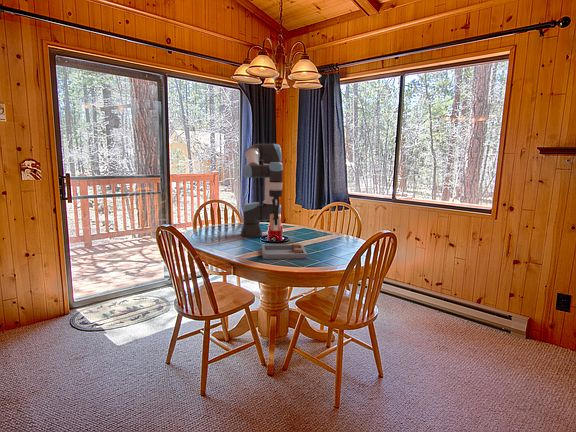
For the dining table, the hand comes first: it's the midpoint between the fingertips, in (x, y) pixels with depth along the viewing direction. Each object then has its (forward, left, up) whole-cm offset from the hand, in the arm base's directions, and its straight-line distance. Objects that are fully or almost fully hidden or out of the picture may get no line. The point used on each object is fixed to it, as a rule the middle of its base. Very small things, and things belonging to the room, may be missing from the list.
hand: (275, 229), depth 211 cm
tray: (0, +5, -15) cm, 16 cm away
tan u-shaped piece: (0, 0, 0) cm, 0 cm away
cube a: (-5, +13, -15) cm, 20 cm away
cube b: (+5, +13, -15) cm, 20 cm away
